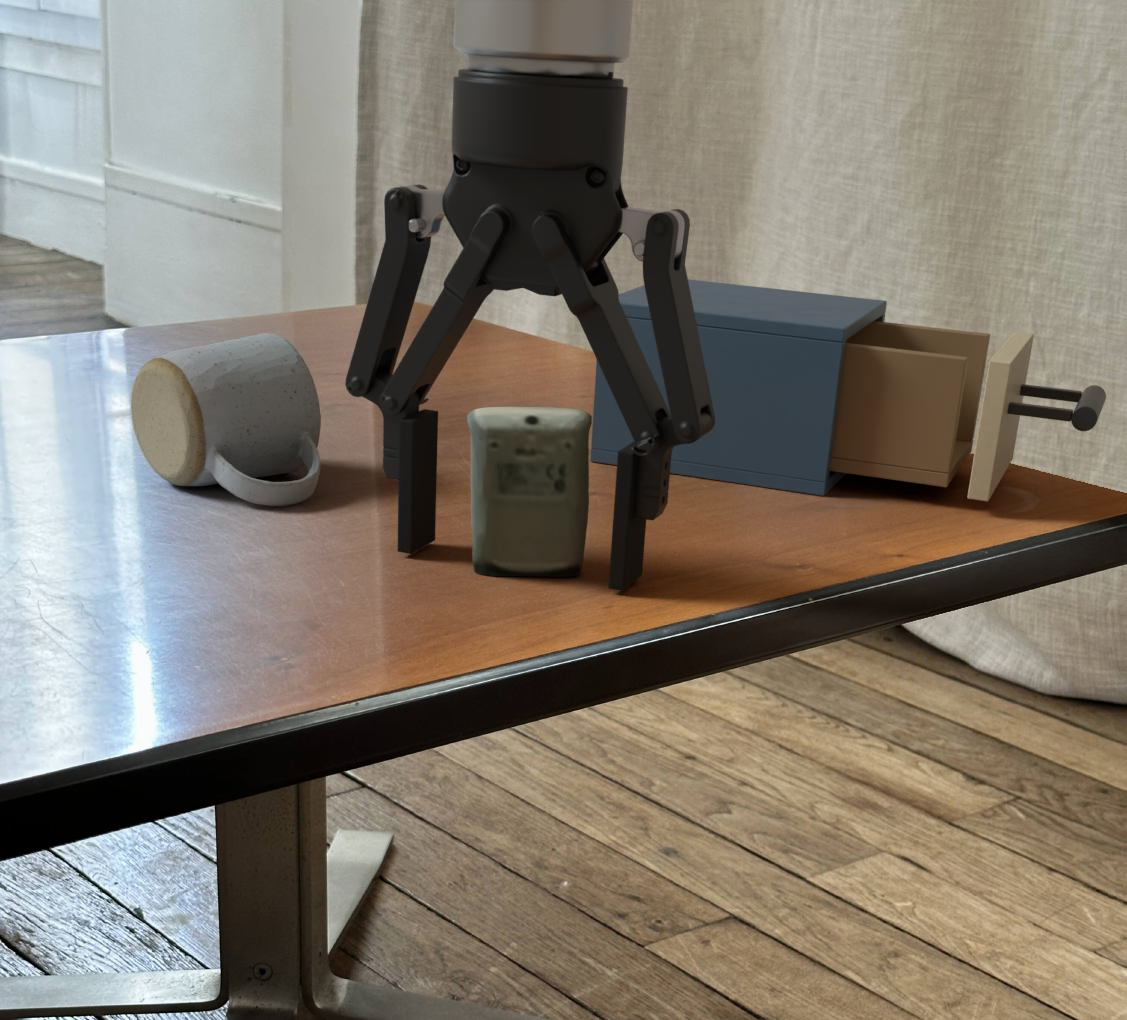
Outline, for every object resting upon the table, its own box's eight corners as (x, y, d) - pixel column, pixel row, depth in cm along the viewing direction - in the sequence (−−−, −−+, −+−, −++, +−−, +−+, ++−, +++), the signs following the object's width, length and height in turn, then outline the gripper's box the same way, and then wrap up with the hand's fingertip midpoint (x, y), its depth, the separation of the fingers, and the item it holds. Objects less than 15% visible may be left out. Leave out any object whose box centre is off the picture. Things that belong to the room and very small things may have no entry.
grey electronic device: (502, 595, 74) (509, 423, 70) (442, 563, 77) (446, 399, 74) (600, 577, 77) (611, 412, 73) (538, 548, 81) (546, 389, 77)
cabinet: (867, 452, 104) (887, 300, 100) (824, 496, 93) (844, 328, 89) (654, 422, 108) (665, 276, 104) (589, 461, 98) (599, 300, 94)
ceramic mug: (125, 473, 89) (117, 333, 86) (248, 454, 94) (245, 321, 91) (232, 521, 82) (229, 372, 79) (359, 497, 88) (360, 357, 84)
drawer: (1093, 470, 99) (1118, 342, 95) (1077, 514, 89) (1104, 373, 86) (802, 431, 104) (816, 309, 101) (757, 468, 94) (771, 334, 91)
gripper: (822, 84, 68) (766, 580, 77) (346, 52, 75) (346, 510, 84) (779, 85, 62) (723, 626, 71) (262, 50, 69) (273, 546, 78)
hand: (518, 563), depth 77 cm, fingers open, 10 cm apart
